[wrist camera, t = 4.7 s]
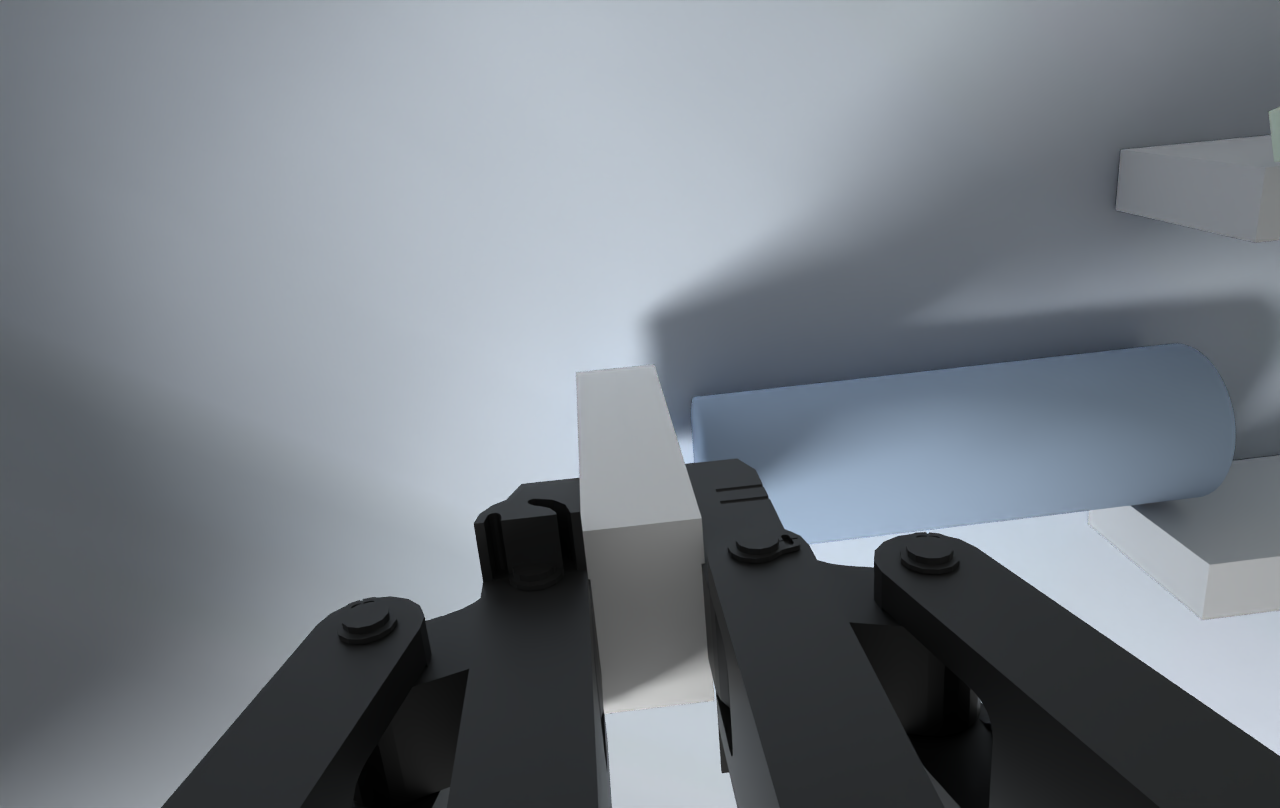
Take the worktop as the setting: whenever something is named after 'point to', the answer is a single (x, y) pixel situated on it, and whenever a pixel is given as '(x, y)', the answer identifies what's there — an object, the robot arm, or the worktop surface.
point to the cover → (1275, 132)
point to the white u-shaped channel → (1254, 488)
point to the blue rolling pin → (978, 441)
